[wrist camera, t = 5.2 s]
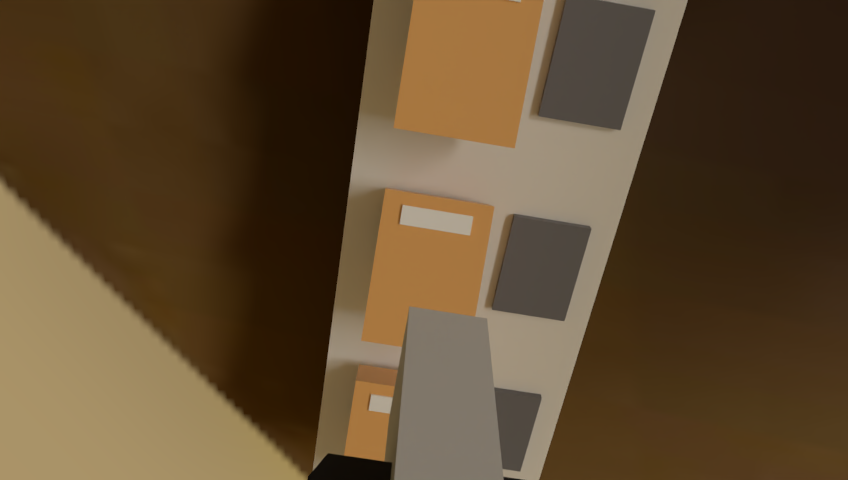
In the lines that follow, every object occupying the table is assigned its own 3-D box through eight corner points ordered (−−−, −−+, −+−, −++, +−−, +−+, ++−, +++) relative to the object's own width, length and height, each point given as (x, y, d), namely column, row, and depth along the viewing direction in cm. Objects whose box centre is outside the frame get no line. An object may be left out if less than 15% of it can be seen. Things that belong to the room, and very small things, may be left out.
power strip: (432, -370, 20) (429, -447, 16) (735, -308, 20) (810, -368, 16) (326, 415, 32) (308, 490, 28) (519, 444, 32) (530, 522, 28)
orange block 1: (421, -47, 19) (422, -57, 18) (540, -26, 20) (550, -34, 18) (395, 124, 20) (393, 128, 19) (508, 143, 21) (514, 148, 19)
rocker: (359, 364, 25) (355, 381, 24) (451, 378, 25) (453, 396, 24) (340, 481, 26) (336, 504, 25) (428, 494, 26) (430, 518, 25)
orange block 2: (386, 187, 23) (385, 188, 21) (488, 204, 23) (494, 206, 21) (363, 330, 23) (360, 341, 22) (464, 345, 23) (468, 358, 22)
